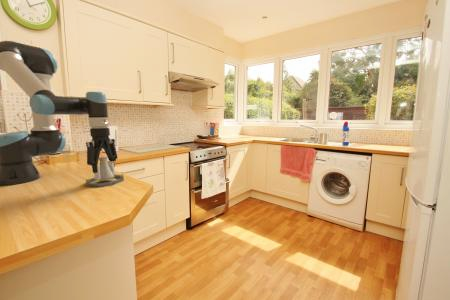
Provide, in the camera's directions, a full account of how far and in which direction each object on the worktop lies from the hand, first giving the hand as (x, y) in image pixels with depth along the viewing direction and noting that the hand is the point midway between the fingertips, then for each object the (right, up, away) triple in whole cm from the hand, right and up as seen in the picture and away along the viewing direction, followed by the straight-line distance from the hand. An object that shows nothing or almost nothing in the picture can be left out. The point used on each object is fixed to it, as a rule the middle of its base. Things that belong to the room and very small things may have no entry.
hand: (105, 176), depth 98 cm
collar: (0, -2, 0) cm, 2 cm away
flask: (0, -1, 0) cm, 1 cm away
